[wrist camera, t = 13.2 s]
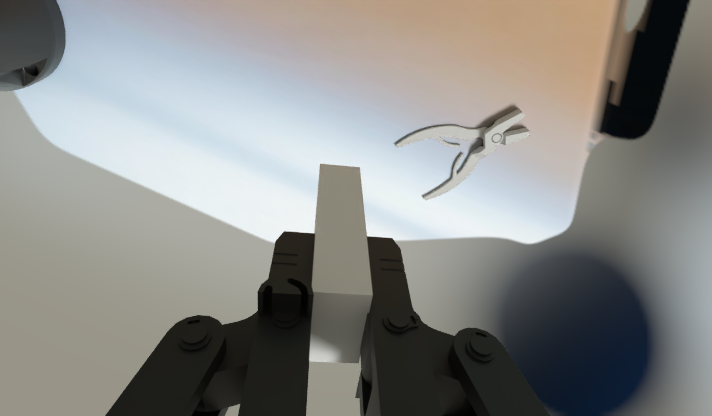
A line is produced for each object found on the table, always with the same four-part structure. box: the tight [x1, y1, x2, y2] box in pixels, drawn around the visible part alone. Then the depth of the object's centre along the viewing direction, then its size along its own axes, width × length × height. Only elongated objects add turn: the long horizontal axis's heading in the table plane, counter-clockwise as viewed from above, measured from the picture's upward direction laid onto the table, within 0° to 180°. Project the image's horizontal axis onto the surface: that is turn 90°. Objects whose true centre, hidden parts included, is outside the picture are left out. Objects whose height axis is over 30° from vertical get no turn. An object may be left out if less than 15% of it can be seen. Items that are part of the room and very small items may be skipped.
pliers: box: [396, 108, 530, 200], centre depth 51 cm, size 10×2×15 cm
